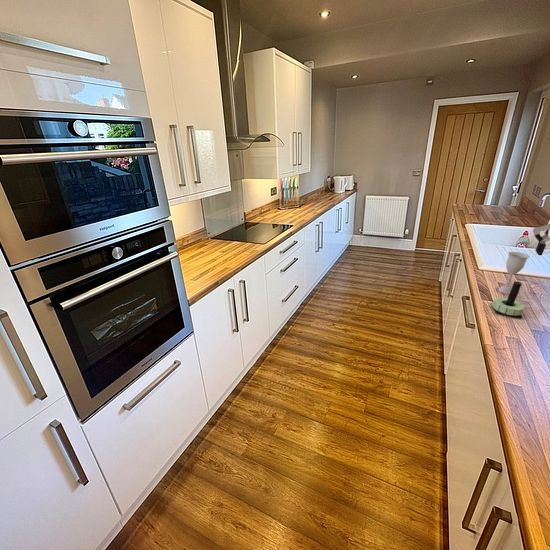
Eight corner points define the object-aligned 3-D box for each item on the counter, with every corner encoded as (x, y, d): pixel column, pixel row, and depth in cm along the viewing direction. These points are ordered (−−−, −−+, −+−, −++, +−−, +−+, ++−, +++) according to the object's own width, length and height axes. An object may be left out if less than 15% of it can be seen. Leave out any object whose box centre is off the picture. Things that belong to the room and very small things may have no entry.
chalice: (495, 292, 132) (508, 255, 124) (495, 286, 137) (508, 250, 129) (515, 296, 128) (530, 258, 120) (514, 290, 133) (529, 254, 125)
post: (516, 308, 119) (527, 280, 114) (521, 318, 113) (534, 289, 107) (493, 304, 122) (503, 276, 117) (496, 313, 116) (507, 285, 110)
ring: (518, 306, 119) (521, 300, 118) (524, 318, 111) (527, 312, 110) (490, 300, 123) (492, 295, 122) (494, 311, 115) (496, 306, 114)
